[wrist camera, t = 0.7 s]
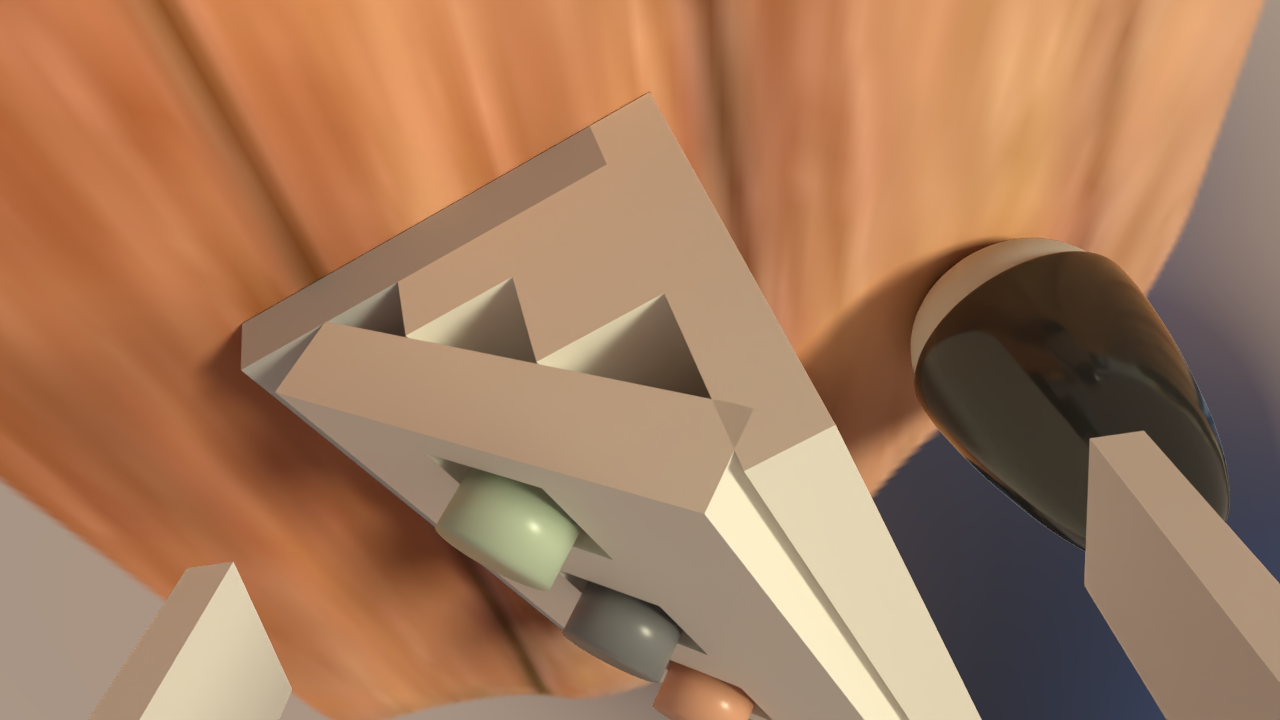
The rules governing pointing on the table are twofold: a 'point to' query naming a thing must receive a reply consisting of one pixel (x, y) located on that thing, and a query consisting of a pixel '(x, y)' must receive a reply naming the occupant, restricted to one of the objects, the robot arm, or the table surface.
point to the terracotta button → (700, 697)
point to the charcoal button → (623, 631)
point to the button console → (622, 419)
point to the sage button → (509, 528)
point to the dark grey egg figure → (1056, 376)
